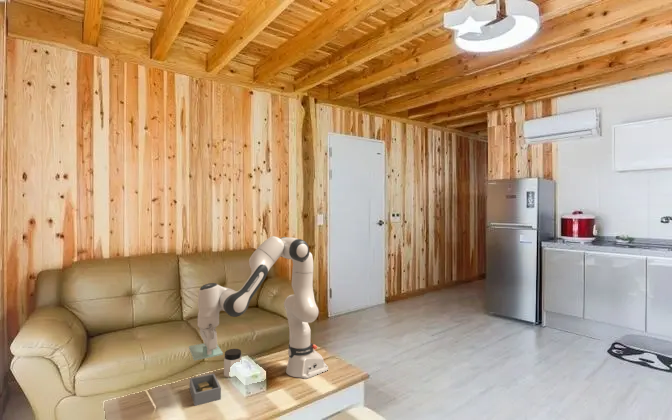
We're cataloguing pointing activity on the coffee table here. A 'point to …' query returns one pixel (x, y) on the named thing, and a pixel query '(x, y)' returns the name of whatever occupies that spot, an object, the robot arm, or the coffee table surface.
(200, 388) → the part
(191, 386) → the tub
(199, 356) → the lid
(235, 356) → the jar
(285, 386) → the coffee table surface
